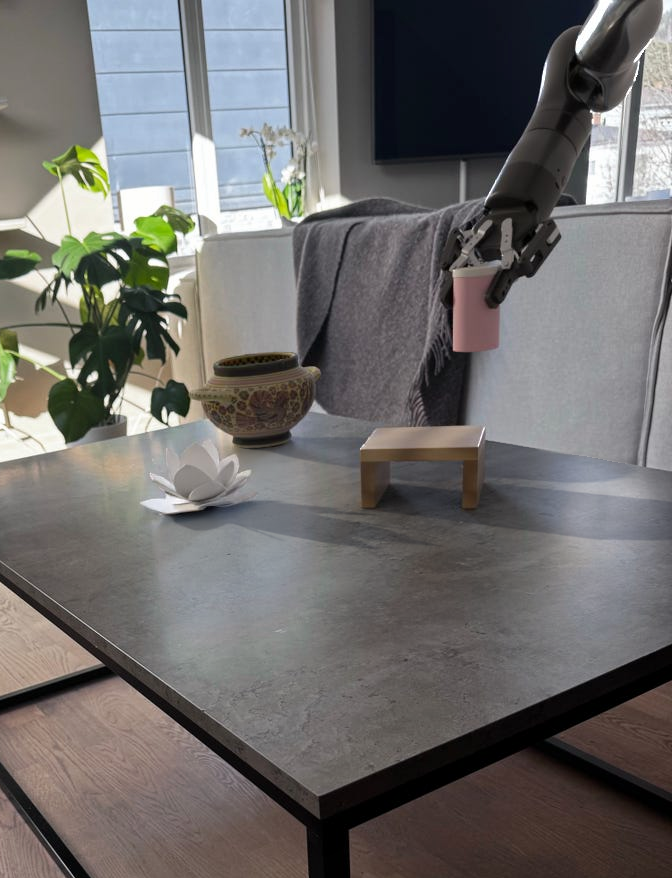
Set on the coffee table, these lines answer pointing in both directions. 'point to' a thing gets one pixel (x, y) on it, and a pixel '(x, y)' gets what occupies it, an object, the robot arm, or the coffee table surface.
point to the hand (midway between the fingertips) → (467, 304)
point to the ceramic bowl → (258, 397)
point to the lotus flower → (199, 481)
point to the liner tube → (474, 310)
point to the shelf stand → (423, 457)
